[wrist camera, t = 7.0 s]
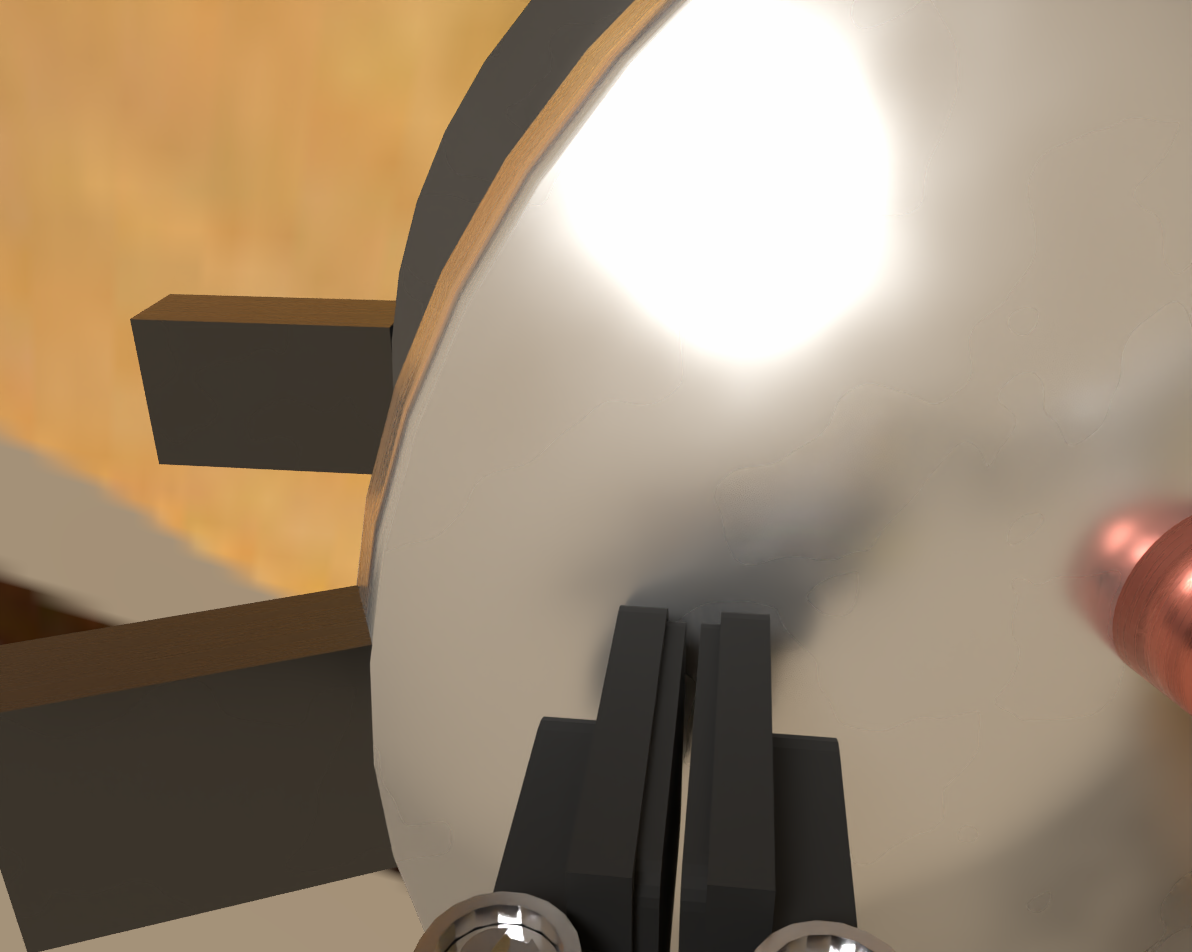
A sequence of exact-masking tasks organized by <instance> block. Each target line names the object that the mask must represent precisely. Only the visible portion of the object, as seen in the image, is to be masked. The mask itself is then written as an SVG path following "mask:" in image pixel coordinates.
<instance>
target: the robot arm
mask: <svg viewBox="0 0 1192 952" xmlns="http://www.w3.org/2000/svg"><path fill="white" fill-rule="evenodd" d="M686 632H687V623H686V622H677V621H669V611H668V608H660V607H643V606H627V605H620V607H619V611H618V615H617V620H616V625H615V630H614V635H613V640H612V645H611V650H610V655H609V660H608V665H607V670H606V675H605V679H604V684H603V689H602V694H601V699H600V704H599V709H598V714H597V719H596V720H586V719H573V718H559V717H546V716H544V717H543V718H542V719H541V721H540V724H539V727H538V729H537V733H536V737H535V740H534V744H533V748H532V751H531V755H530V759H529V762H528V766H527V770H526V773H525V777H524V781H523V784H522V788H521V791H520V795H519V799H518V802H517V806H516V810H515V813H514V817H513V821H512V824H511V828H510V832H509V835H508V839H507V843H506V846H505V850H504V854H503V857H502V861H501V865H500V868H499V872H498V876H497V879H496V883H495V886H494V890H493V893H487V894H481V895H476V896H474V897H471V898H469V899H466V900H464V901H462V902H459V903H457V904H454V905H453V906H452V907H450V908H449V909H448V910H446V911H445V912H444V913H442V914H441V915H440V916H438V917H437V918H436V919H435V920H434V921H433V922H432V924H431V925H430V926H429V928H428V929H427V930H426V932H425V933H424V934H423V936H422V937H421V939H420V940H419V942H418V944H417V946H416V948H415V950H414V952H670V945H671V933H672V921H673V909H674V898H675V886H676V874H677V862H678V850H679V838H680V823H681V799H682V766H683V732H684V699H685V666H686ZM678 952H895V951H894V950H893V949H892V948H891V946H889V945H888V944H886V943H885V942H883V941H881V940H880V939H878V938H877V937H875V936H873V935H872V934H870V933H869V932H867V931H864V930H861V929H858V927H857V917H856V907H855V897H854V887H853V877H852V868H851V858H850V848H849V838H848V828H847V818H846V808H845V798H844V788H843V779H842V769H841V759H840V750H839V743H838V740H837V738H832V737H818V736H805V735H791V734H777V733H772V689H771V639H770V614H759V613H742V612H726V611H721V624H710V623H701V632H700V644H699V657H698V669H697V682H696V695H695V707H694V720H693V732H692V745H691V757H690V770H689V783H688V795H687V808H686V820H685V833H684V846H683V859H682V874H681V892H680V918H679V950H678Z"/></svg>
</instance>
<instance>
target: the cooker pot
mask: <svg viewBox="0 0 1192 952" xmlns="http://www.w3.org/2000/svg"><path fill="white" fill-rule="evenodd" d="M634 1H635V0H531V1H530V3H529V4H528V5H527V7H526V8H525V9H524V10H523V12H522V13H521V14H520V16H519V17H518V18H517V20H516V21H515V22H514V24H513V25H512V26H511V28H510V29H509V30H508V32H507V33H506V34H505V35H504V37H503V38H502V39H501V41H500V42H499V43H498V45H497V46H496V47H495V49H494V50H493V51H492V53H491V54H490V55H489V56H488V58H487V59H486V60H485V62H484V64H483V65H482V67H481V69H480V71H479V72H478V74H477V76H476V78H475V80H474V81H473V83H472V85H471V87H470V88H469V90H468V92H467V94H466V95H465V97H464V99H463V101H462V102H461V104H460V106H459V108H458V109H457V111H456V113H455V115H454V117H453V118H452V120H451V122H450V124H449V125H448V127H447V129H446V131H445V133H444V135H443V138H442V140H441V143H440V145H439V148H438V150H437V153H436V155H435V158H434V160H433V163H432V165H431V168H430V170H429V173H428V175H427V178H426V180H425V183H424V185H423V188H422V190H421V193H420V195H419V198H418V200H417V204H416V208H415V212H414V216H413V220H412V224H411V228H410V232H409V236H408V240H407V244H406V248H405V252H404V256H403V260H402V264H401V268H400V272H399V280H398V289H397V298H396V301H385V300H351V299H317V298H283V297H249V296H215V295H181V294H170V295H168V296H166V297H165V298H163V299H162V300H160V301H158V302H157V303H155V304H154V305H152V306H150V307H149V308H147V309H146V310H144V311H142V312H141V313H139V314H138V315H136V316H134V317H133V318H131V319H130V321H131V326H132V331H133V336H134V341H135V346H136V351H137V355H138V360H139V365H140V370H141V375H142V380H143V385H144V390H145V395H146V400H147V405H148V410H149V415H150V420H151V425H152V430H153V435H154V440H155V445H156V450H157V455H158V460H159V464H169V465H190V466H211V467H231V468H252V469H273V470H293V471H314V472H334V473H355V474H372V473H373V469H374V465H375V462H376V458H377V454H378V450H379V446H380V442H381V438H382V434H383V430H384V427H385V423H386V419H387V415H388V411H389V407H390V403H391V399H392V395H393V392H394V388H395V385H396V382H397V380H398V377H399V375H400V372H401V370H402V367H403V365H404V363H405V360H406V358H407V355H408V353H409V350H410V348H411V345H412V343H413V340H414V338H415V336H416V333H417V331H418V328H419V326H420V323H421V321H422V318H423V316H424V313H425V311H426V309H427V306H428V304H429V301H430V299H431V296H432V294H433V291H434V289H435V286H436V284H437V282H438V279H439V277H440V274H441V272H442V270H443V268H444V266H445V265H446V263H447V261H448V259H449V258H450V256H451V254H452V252H453V251H454V249H455V247H456V245H457V244H458V242H459V240H460V238H461V237H462V235H463V233H464V231H465V229H466V228H467V226H468V224H469V222H470V221H471V219H472V217H473V215H474V214H475V212H476V210H477V208H478V207H479V205H480V203H481V201H482V199H483V198H484V196H485V194H486V192H487V191H488V189H489V187H490V185H491V184H492V182H493V180H494V178H495V177H496V175H497V173H498V171H499V170H500V168H501V166H502V164H503V162H504V161H505V159H506V157H507V156H508V155H509V153H510V152H511V151H512V149H513V148H514V147H515V145H516V144H517V143H518V141H519V140H520V139H521V137H522V136H523V135H524V133H525V132H526V131H527V129H528V128H529V127H530V125H531V124H532V123H533V121H534V120H535V119H536V117H537V116H538V115H539V113H540V112H541V111H542V109H543V108H544V107H545V105H546V104H547V103H548V101H549V100H550V99H551V97H552V96H553V95H554V93H555V92H556V91H557V89H558V88H559V87H560V85H561V84H562V83H563V81H564V80H565V79H566V77H567V76H568V75H569V73H570V72H571V71H572V69H573V68H574V67H575V65H576V64H577V63H578V61H579V60H580V58H581V57H582V56H583V54H584V53H585V52H586V50H587V49H588V48H589V47H590V46H591V45H592V44H593V43H594V42H595V41H596V40H597V39H598V38H599V37H600V36H601V35H602V34H603V33H604V32H605V31H606V30H607V29H608V28H609V26H610V25H611V24H612V23H613V22H614V21H615V20H616V19H617V18H618V17H619V16H620V15H621V14H622V13H623V12H624V11H625V10H626V9H627V8H628V7H629V6H630V5H631V4H632V3H633V2H634Z"/></svg>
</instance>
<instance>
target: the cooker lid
mask: <svg viewBox="0 0 1192 952" xmlns="http://www.w3.org/2000/svg"><path fill="white" fill-rule="evenodd" d="M620 605H627V606H643V607H660V608H668V611H669V621H677V622H686V623H687V632H686V666H685V699H684V732H683V766H682V799H681V823H680V838H679V850H678V862H677V874H676V886H675V898H674V909H673V921H672V933H671V945H670V952H678V950H679V918H680V892H681V874H682V859H683V846H684V833H685V820H686V808H687V795H688V783H689V770H690V757H691V745H692V732H693V720H694V707H695V695H696V682H697V669H698V657H699V644H700V632H701V623H710V624H721V611H726V612H742V613H759V614H770V639H771V689H772V733H777V734H791V735H805V736H818V737H832V738H837V740H838V743H839V750H840V759H841V769H842V779H843V788H844V798H845V808H846V818H847V828H848V838H849V848H850V858H851V868H852V877H853V887H854V897H855V907H856V917H857V927H858V929H861V930H864V931H867V932H869V933H870V934H872V935H873V936H875V937H877V938H878V939H880V940H881V941H883V942H885V943H886V944H888V945H889V946H891V948H892V949H893V950H894V951H895V952H1192V0H635V1H634V2H633V3H632V4H631V5H630V6H629V7H628V8H627V9H626V10H625V11H624V12H623V13H622V14H621V15H620V16H619V17H618V18H617V19H616V20H615V21H614V22H613V23H612V24H611V25H610V26H609V28H608V29H607V30H606V31H605V32H604V33H603V34H602V35H601V36H600V37H599V38H598V39H597V40H596V41H595V42H594V43H593V44H592V45H591V46H590V47H589V48H588V49H587V50H586V52H585V53H584V54H583V56H582V57H581V58H580V60H579V61H578V63H577V64H576V65H575V67H574V68H573V69H572V71H571V72H570V73H569V75H568V76H567V77H566V79H565V80H564V81H563V83H562V84H561V85H560V87H559V88H558V89H557V91H556V92H555V93H554V95H553V96H552V97H551V99H550V100H549V101H548V103H547V104H546V105H545V107H544V108H543V109H542V111H541V112H540V113H539V115H538V116H537V117H536V119H535V120H534V121H533V123H532V124H531V125H530V127H529V128H528V129H527V131H526V132H525V133H524V135H523V136H522V137H521V139H520V140H519V141H518V143H517V144H516V145H515V147H514V148H513V149H512V151H511V152H510V153H509V155H508V156H507V157H506V159H505V161H504V162H503V164H502V166H501V168H500V170H499V171H498V173H497V175H496V177H495V178H494V180H493V182H492V184H491V185H490V187H489V189H488V191H487V192H486V194H485V196H484V198H483V199H482V201H481V203H480V205H479V207H478V208H477V210H476V212H475V214H474V215H473V217H472V219H471V221H470V222H469V224H468V226H467V228H466V229H465V231H464V233H463V235H462V237H461V238H460V240H459V242H458V244H457V245H456V247H455V249H454V251H453V252H452V254H451V256H450V258H449V259H448V261H447V263H446V265H445V266H444V268H443V270H442V272H441V274H440V277H439V279H438V282H437V284H436V286H435V289H434V291H433V294H432V296H431V299H430V301H429V304H428V306H427V309H426V311H425V313H424V316H423V318H422V321H421V323H420V326H419V328H418V331H417V333H416V336H415V338H414V340H413V343H412V345H411V348H410V350H409V353H408V355H407V358H406V360H405V363H404V365H403V367H402V370H401V372H400V375H399V377H398V380H397V382H396V385H395V388H394V392H393V395H392V399H391V403H390V407H389V411H388V415H387V419H386V423H385V427H384V430H383V434H382V438H381V442H380V446H379V450H378V454H377V458H376V462H375V465H374V469H373V473H372V477H371V481H370V485H369V489H368V493H367V497H366V505H365V514H364V524H363V533H362V542H361V551H360V560H359V569H358V578H357V586H351V587H345V588H339V589H333V590H327V591H321V592H315V593H309V594H303V595H297V596H291V597H285V598H279V599H273V600H268V601H262V602H256V603H250V604H244V605H238V606H232V607H226V608H220V609H214V610H208V611H202V612H196V613H190V614H184V615H178V616H172V617H166V618H160V619H155V620H148V621H142V622H137V623H130V624H124V625H119V626H113V627H107V628H101V629H95V630H89V631H83V632H77V633H71V634H65V635H59V636H53V637H47V638H41V639H35V640H29V641H23V642H17V643H11V644H5V645H0V870H1V873H2V875H3V879H4V882H5V885H6V888H7V891H8V894H9V897H10V900H11V903H12V906H13V909H14V912H15V915H16V919H17V922H18V925H19V928H20V931H21V933H22V937H23V939H24V943H25V946H26V949H27V952H40V951H44V950H48V949H52V948H57V947H61V946H65V945H69V944H73V943H77V942H82V941H86V940H90V939H95V938H99V937H103V936H107V935H111V934H116V933H120V932H124V931H128V930H132V929H136V928H141V927H145V926H149V925H154V924H158V923H162V922H166V921H170V920H174V919H179V918H183V917H187V916H191V915H195V914H200V913H204V912H208V911H212V910H217V909H221V908H225V907H229V906H234V905H237V904H242V903H246V902H250V901H254V900H259V899H263V898H267V897H271V896H276V895H280V894H284V893H288V892H293V891H297V890H301V889H305V888H309V887H313V886H318V885H322V884H326V883H330V882H334V881H339V880H343V879H347V878H351V877H355V876H360V875H364V874H368V873H373V872H377V871H381V870H385V869H389V868H394V867H398V868H399V871H400V873H401V876H402V878H403V881H404V883H405V885H406V888H407V890H408V893H409V895H410V898H411V900H412V902H413V905H414V907H415V910H416V912H417V915H418V917H419V920H420V922H421V924H422V927H423V929H424V931H425V932H426V930H427V929H428V928H429V926H430V925H431V924H432V922H433V921H434V920H435V919H436V918H437V917H438V916H440V915H441V914H442V913H444V912H445V911H446V910H448V909H449V908H450V907H452V906H453V905H454V904H457V903H459V902H462V901H464V900H466V899H469V898H471V897H474V896H476V895H481V894H487V893H493V890H494V886H495V883H496V879H497V876H498V872H499V868H500V865H501V861H502V857H503V854H504V850H505V846H506V843H507V839H508V835H509V832H510V828H511V824H512V821H513V817H514V813H515V810H516V806H517V802H518V799H519V795H520V791H521V788H522V784H523V781H524V777H525V773H526V770H527V766H528V762H529V759H530V755H531V751H532V748H533V744H534V740H535V737H536V733H537V729H538V727H539V724H540V721H541V719H542V718H543V717H544V716H546V717H559V718H573V719H586V720H596V719H597V714H598V709H599V704H600V699H601V694H602V689H603V684H604V679H605V675H606V670H607V665H608V660H609V655H610V650H611V645H612V640H613V635H614V630H615V625H616V620H617V615H618V611H619V607H620Z"/></svg>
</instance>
